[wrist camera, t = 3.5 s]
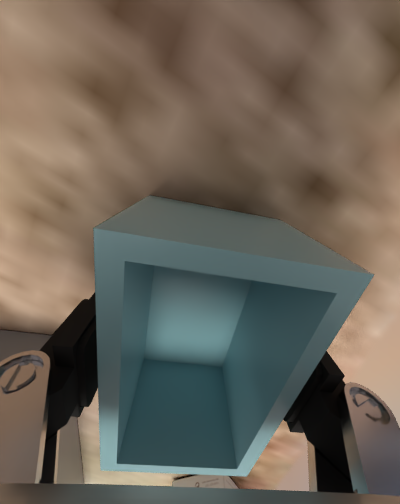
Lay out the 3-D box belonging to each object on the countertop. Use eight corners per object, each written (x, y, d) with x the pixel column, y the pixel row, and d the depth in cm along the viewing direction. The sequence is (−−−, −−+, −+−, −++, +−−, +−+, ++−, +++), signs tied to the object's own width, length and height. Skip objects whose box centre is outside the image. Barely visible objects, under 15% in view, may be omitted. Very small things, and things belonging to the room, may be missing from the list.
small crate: (149, 195, 8) (93, 228, 4) (280, 219, 9) (373, 274, 4) (136, 356, 12) (100, 470, 7) (227, 365, 13) (246, 476, 8)
